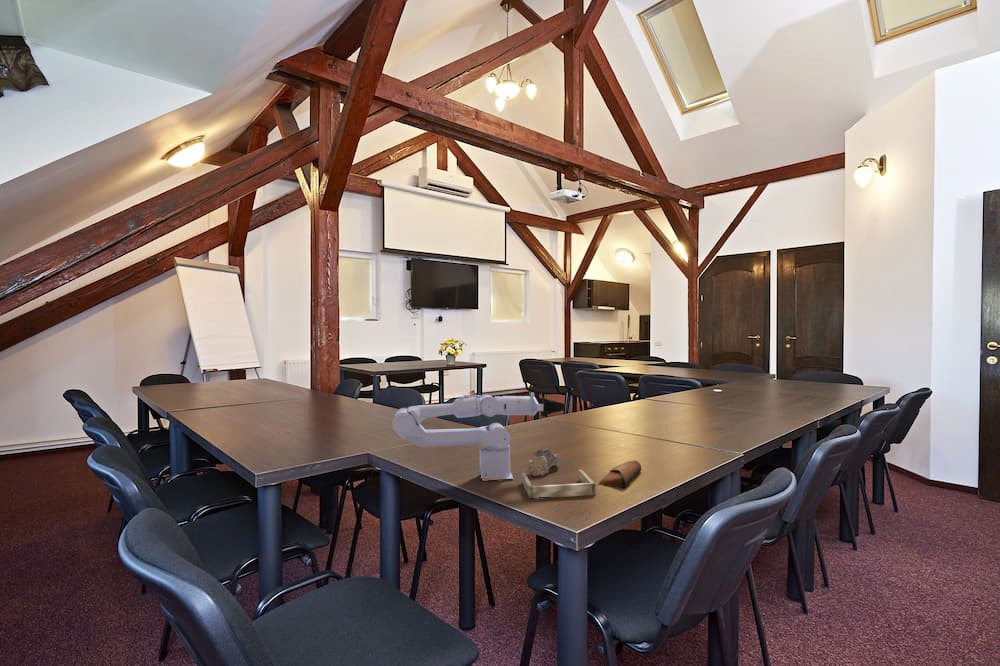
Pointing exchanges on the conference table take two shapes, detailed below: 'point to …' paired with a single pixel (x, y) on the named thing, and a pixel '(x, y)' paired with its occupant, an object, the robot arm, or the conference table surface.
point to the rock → (543, 462)
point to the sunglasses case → (621, 474)
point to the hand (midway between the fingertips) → (560, 405)
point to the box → (561, 488)
